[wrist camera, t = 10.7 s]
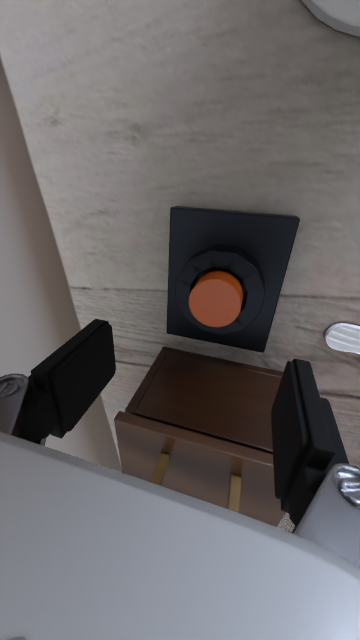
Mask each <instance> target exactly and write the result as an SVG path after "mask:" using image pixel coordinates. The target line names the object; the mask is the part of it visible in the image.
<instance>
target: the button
mask: <svg viewBox="0 0 360 640" xmlns="http://www.w3.org/2000/svg"><path fill="white" fill-rule="evenodd" d="M242 298H243V290H242V287H241V284H240V282H239V281H238V280H237V279H236V278H235V277H234V276H233V275H231V274H230V273H227V272H224V271H211V272H208V273H206V274H205V275H203V276H202V277H201V278H200V279H199V280H198V282H197V283H196V285H195V286H194V288H193V289H192V291H191V293H190V296H189V307H190V310H191V312H192V314H193V316H194V317H195V318H196V319H197V320H198V321H199V322H201V323H202V324H204V325H207V326H211V327H222V326H226V325H228V324H230V323H232V322H233V321H234V320H235V319H236V318H237V317H238V315H239V313H240V310H241V305H242Z"/></svg>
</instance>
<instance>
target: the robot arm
mask: <svg viewBox="0 0 360 640" xmlns="http://www.w3.org/2000/svg"><path fill="white" fill-rule="evenodd" d="M301 1H302V2H303V3H304V4H305V5H306V6H307V7H308V9H309V10H310V11H311V12H312V13H313V14H314V15H315V17H316V18H318V19H319V20H321V21H322V22H324V23H325V24H327V25H329V26H330V27H332V28H333V29H335V30H337V31H341V32H344V33H348V34H352V35H355V36H360V0H301ZM115 371H116V365H115V354H114V344H113V334H112V326H111V325H109V323H108V321H104V320H99V319H95V320H93V321H92V322H91V323H90V324H88V325H87V326H86V327H85V328H83V329H82V330H81V331H80V332H78V333H77V334H76V335H75V336H74V337H72V338H71V339H70V340H68V341H67V342H66V343H65V344H64V345H62V346H61V347H60V348H59V349H57V350H56V351H55V352H54V353H52V354H51V355H50V356H49V357H47V358H46V359H45V360H44V361H42V362H41V363H40V364H39V365H38V366H36V367H35V368H34V369H32V370H31V375H30V376H29V377H28V378H27V376H25V375H23V374H9V375H5V376H2V377H0V640H360V468H358V467H356V466H353V465H350V464H349V462H348V459H347V456H346V452H345V449H344V446H343V443H342V440H341V437H340V434H339V431H338V427H337V424H336V421H335V418H334V415H333V412H332V409H331V406H330V403H329V401H328V400H327V399H325V398H320V396H319V393H318V389H317V385H316V382H315V378H314V375H313V371H312V368H311V364H310V362H309V361H304V360H299V359H293V361H292V362H291V361H288V362H287V364H286V367H285V370H284V373H283V376H282V379H281V382H280V385H279V388H278V391H277V394H276V397H275V400H274V403H273V406H272V410H271V424H272V445H273V466H274V488H275V497H276V498H277V499H280V501H281V511H284V512H287V513H289V515H290V519H291V521H292V522H293V523H294V524H295V528H294V529H293V531H292V533H291V532H288V531H286V530H283V529H281V528H278V527H275V526H272V525H270V524H267V523H264V522H262V521H259V520H256V519H253V518H251V517H248V516H245V515H243V514H240V513H237V512H234V511H232V510H229V509H226V508H223V507H220V506H217V505H214V504H211V503H209V502H206V501H203V500H200V499H197V498H194V497H191V496H188V495H186V494H183V493H180V492H177V491H174V490H171V489H168V488H166V487H163V486H160V485H157V484H154V483H151V482H148V481H145V480H142V479H139V478H136V477H134V476H131V475H128V474H125V473H122V472H119V471H116V470H113V469H110V468H107V467H104V466H101V465H98V464H95V463H92V462H90V461H86V460H84V459H81V458H78V457H75V456H72V455H69V454H66V453H63V452H60V451H57V450H54V449H51V448H48V447H45V442H46V438H47V437H48V436H49V434H51V435H53V436H56V437H59V438H63V436H64V435H65V433H66V432H67V431H68V432H69V431H71V430H72V429H73V428H74V426H75V425H76V424H77V423H78V421H79V420H80V419H81V417H82V416H83V415H84V413H85V412H86V411H87V410H88V408H89V407H90V406H91V404H92V403H93V402H94V401H95V399H96V398H97V397H98V395H99V394H100V393H101V392H102V390H103V389H104V388H105V386H106V385H107V384H108V382H109V381H110V380H111V379H112V377H113V376H114V374H115Z"/></svg>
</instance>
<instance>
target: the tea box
mask: <svg viewBox="0 0 360 640" xmlns="http://www.w3.org/2000/svg"><path fill="white" fill-rule="evenodd" d="M283 373H284V372H279V371H274V370H270V369H265V368H260V367H256V366H251V365H246V364H241V363H237V362H232V361H227V360H223V359H218V358H213V357H209V356H204V355H199V354H195V353H190V352H185V351H181V350H176V349H171V348H167V347H163V348H162V349H161V351H160V353H159V355H158V356H157V358H156V359H155V361H154V363H153V364H152V366H151V368H150V369H149V371H148V373H147V374H146V376H145V378H144V379H143V381H142V383H141V384H140V386H139V388H138V389H137V391H136V393H135V394H134V396H133V398H132V399H131V401H130V403H129V404H128V406H127V407H126V409H125V413H128V414H132V415H135V416H139V417H142V418H146V419H149V420H153V421H156V422H160V423H163V424H167V425H170V426H174V427H177V428H181V429H184V430H188V431H192V432H195V433H199V434H202V435H206V436H209V437H213V438H216V439H220V440H223V441H227V442H230V443H234V444H237V445H241V446H244V447H248V448H251V449H255V450H258V451H262V452H265V453H269V454H272V455H273V445H272V424H271V410H272V406H273V403H274V400H275V397H276V394H277V391H278V388H279V385H280V382H281V379H282V376H283Z"/></svg>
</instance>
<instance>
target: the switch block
mask: <svg viewBox="0 0 360 640" xmlns="http://www.w3.org/2000/svg"><path fill="white" fill-rule="evenodd" d="M299 221H300V219H299V218H298V217H297V216H288V215H276V214H264V213H252V212H240V211H228V210H216V209H204V208H192V207H180V206H176V207H171V210H170V242H169V273H168V305H167V333H168V334H173V335H178V336H183V337H188V338H193V339H198V340H203V341H208V342H213V343H218V344H223V345H228V346H233V347H237V348H242V349H247V350H252V351H257V352H262V353H263V352H264V350H265V346H266V343H267V339H268V335H269V332H270V328H271V324H272V321H273V317H274V313H275V310H276V306H277V302H278V299H279V295H280V291H281V287H282V284H283V280H284V276H285V273H286V269H287V265H288V262H289V258H290V254H291V251H292V247H293V243H294V240H295V236H296V232H297V229H298V225H299ZM211 271H224V272H227V273H230V274H231V275H233V276H234V277H235V278H236V279H237V280H238V281H239V282H240V284H241V287H242V290H243V298H242V305H241V310H240V313H239V315H238V317H237V318H236V319H235V320H234V321H233V322H232V323H230V324H228V325H226V326H222V327H211V326H207V325H204V324H202V323H201V322H199V321H198V320H197V319H196V318H195V317H194V316H193V314H192V312H191V310H190V307H189V296H190V293H191V291H192V289H193V288H194V286H195V285H196V283H197V282H198V280H199V279H200V278H201V277H202V276H203V275H205V274H206V273H208V272H211Z"/></svg>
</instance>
